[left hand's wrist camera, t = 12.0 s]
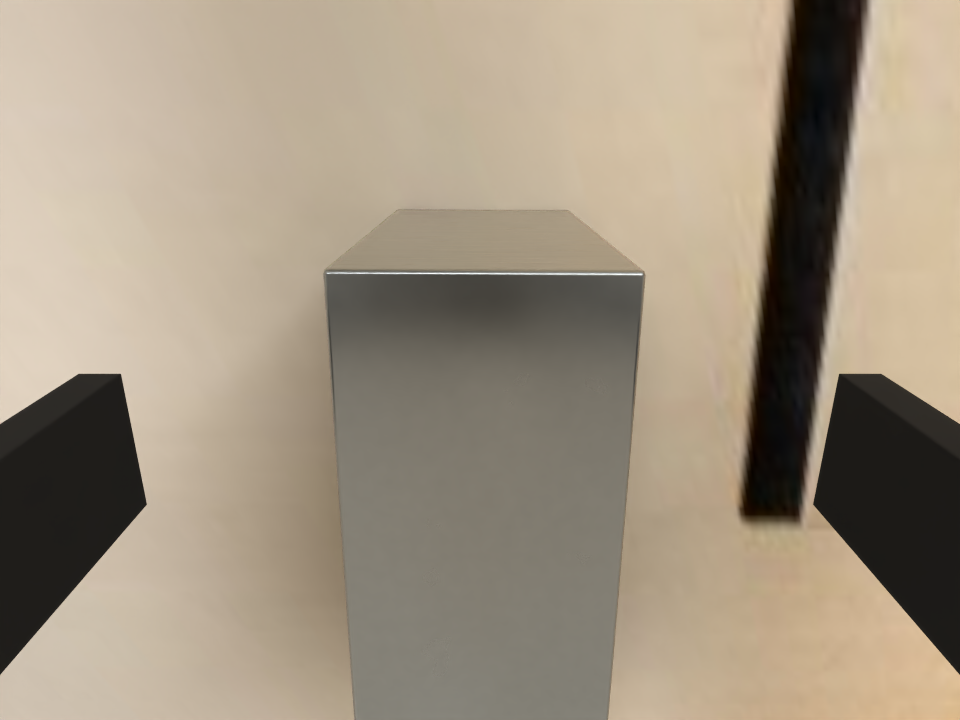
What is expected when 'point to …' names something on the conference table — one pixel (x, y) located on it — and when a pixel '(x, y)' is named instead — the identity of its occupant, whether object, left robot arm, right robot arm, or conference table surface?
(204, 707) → the conference table surface
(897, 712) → the conference table surface
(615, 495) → the box
